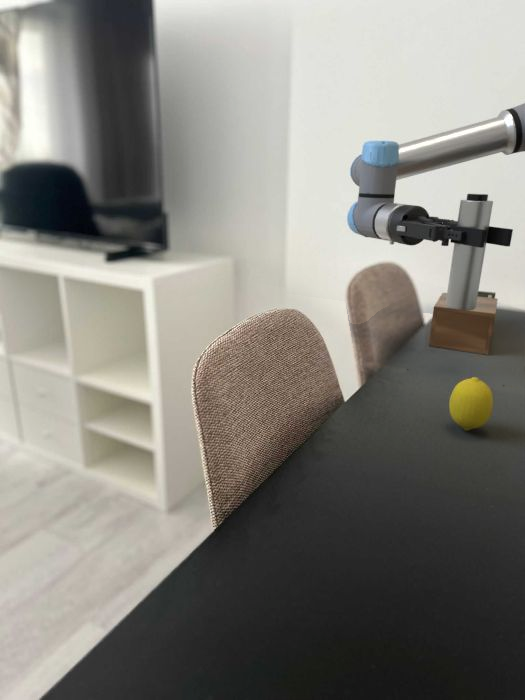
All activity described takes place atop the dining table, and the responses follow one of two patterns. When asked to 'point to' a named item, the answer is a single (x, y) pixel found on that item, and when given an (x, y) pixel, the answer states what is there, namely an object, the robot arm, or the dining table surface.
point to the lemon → (471, 403)
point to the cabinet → (463, 326)
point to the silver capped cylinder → (468, 254)
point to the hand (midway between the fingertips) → (496, 238)
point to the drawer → (486, 294)
